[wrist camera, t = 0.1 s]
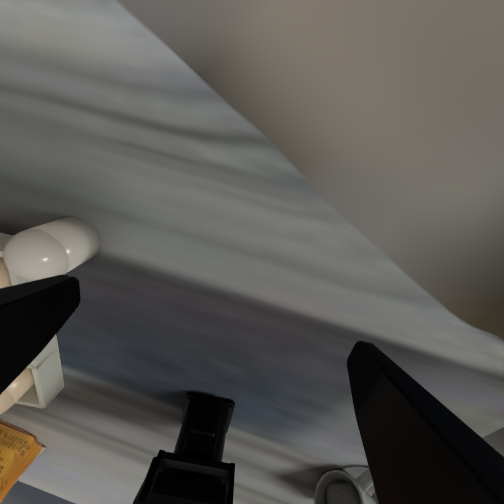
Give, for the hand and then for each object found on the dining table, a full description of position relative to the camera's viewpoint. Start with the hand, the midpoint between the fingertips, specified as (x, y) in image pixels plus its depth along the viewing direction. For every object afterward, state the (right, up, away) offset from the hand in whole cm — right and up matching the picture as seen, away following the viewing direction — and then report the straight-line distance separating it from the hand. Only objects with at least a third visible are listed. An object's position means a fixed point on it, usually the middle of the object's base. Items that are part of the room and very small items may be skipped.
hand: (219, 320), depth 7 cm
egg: (-16, +4, +15) cm, 22 cm away
